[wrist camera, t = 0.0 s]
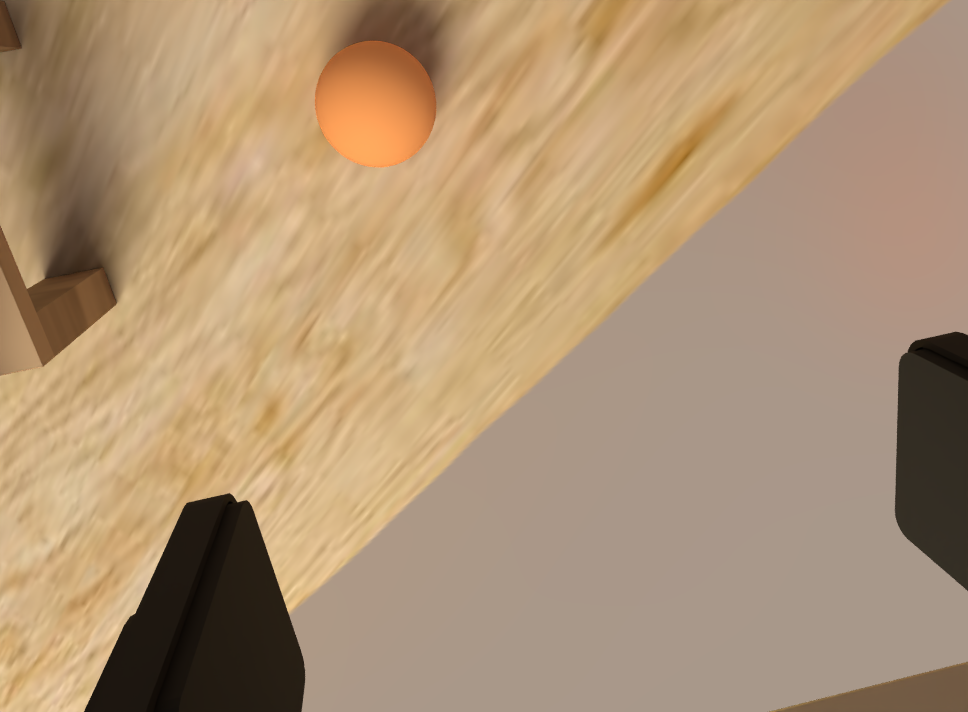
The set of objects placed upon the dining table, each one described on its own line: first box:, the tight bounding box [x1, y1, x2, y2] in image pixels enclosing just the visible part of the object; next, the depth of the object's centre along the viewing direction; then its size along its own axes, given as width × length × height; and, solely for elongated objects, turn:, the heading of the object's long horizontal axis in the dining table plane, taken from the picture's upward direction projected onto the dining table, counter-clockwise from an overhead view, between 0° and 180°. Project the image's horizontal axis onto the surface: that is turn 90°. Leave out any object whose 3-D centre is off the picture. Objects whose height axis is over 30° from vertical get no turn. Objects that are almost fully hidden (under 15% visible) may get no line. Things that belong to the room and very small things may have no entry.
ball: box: [315, 41, 436, 167], centre depth 35 cm, size 6×6×6 cm
